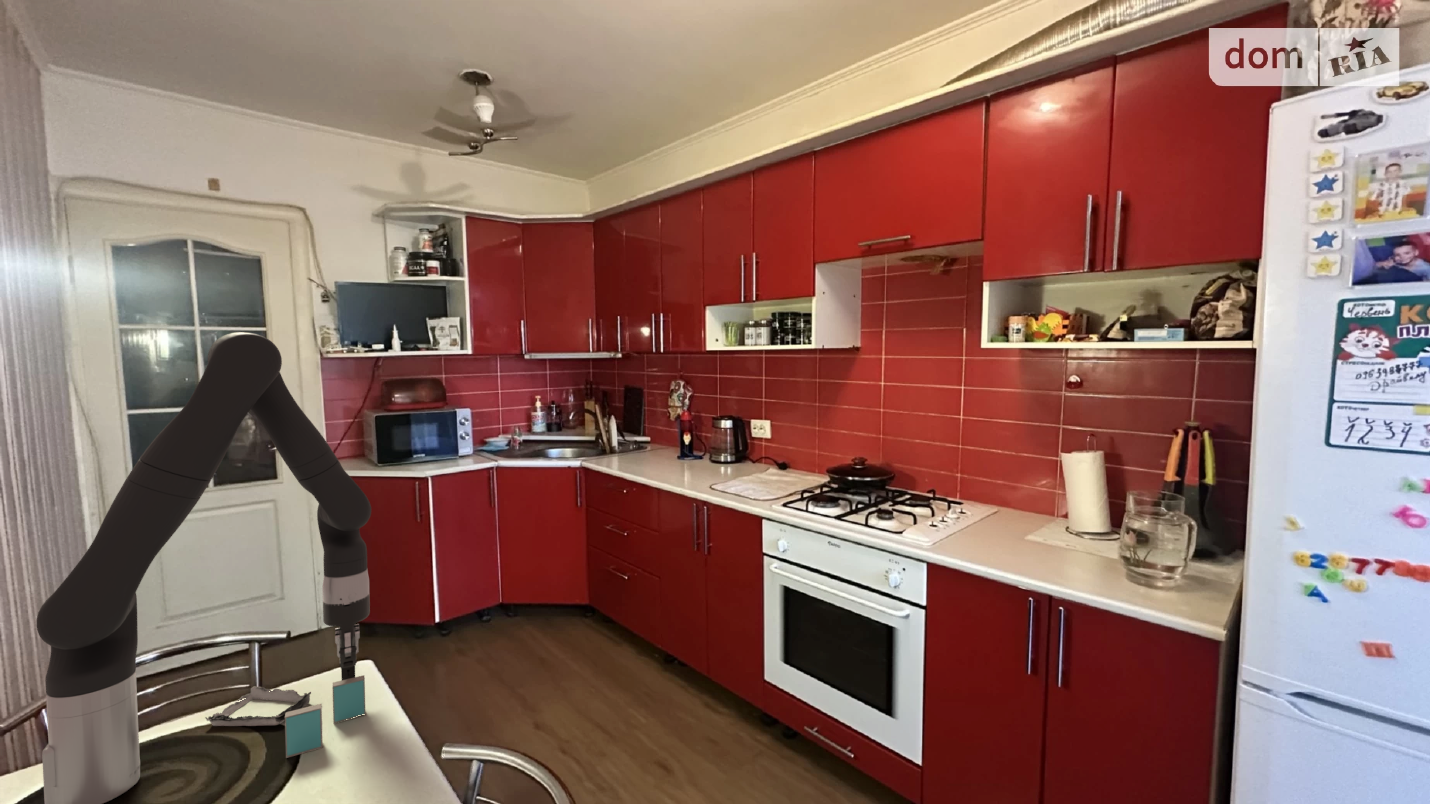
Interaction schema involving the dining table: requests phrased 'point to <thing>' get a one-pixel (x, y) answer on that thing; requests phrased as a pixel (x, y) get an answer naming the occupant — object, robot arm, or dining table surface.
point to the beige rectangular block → (348, 698)
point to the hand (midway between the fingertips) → (348, 683)
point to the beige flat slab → (303, 730)
